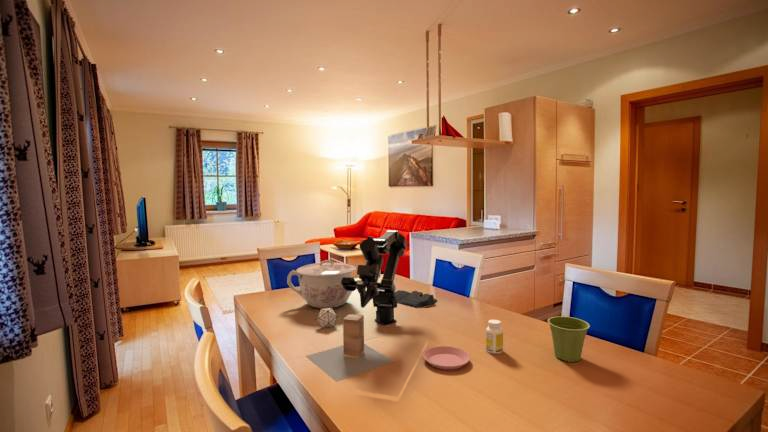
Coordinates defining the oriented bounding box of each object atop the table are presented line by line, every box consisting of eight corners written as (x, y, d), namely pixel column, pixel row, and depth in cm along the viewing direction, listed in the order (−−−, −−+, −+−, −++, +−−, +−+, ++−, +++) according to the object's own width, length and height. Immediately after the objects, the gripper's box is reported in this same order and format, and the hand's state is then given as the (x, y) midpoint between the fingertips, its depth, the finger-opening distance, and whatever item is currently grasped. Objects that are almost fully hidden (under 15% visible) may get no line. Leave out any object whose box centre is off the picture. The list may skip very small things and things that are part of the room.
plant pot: (538, 353, 124) (539, 319, 123) (565, 347, 129) (566, 314, 128) (569, 369, 113) (570, 331, 113) (597, 361, 118) (598, 325, 117)
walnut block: (349, 349, 126) (349, 313, 125) (364, 351, 125) (363, 315, 124) (343, 356, 122) (343, 319, 121) (358, 358, 120) (358, 320, 119)
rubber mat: (359, 343, 134) (359, 340, 134) (394, 364, 118) (394, 361, 118) (305, 358, 122) (305, 356, 122) (336, 384, 106) (336, 381, 106)
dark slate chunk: (404, 294, 196) (404, 284, 196) (440, 302, 181) (440, 292, 181) (383, 300, 185) (383, 290, 185) (420, 310, 170) (419, 299, 170)
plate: (440, 377, 110) (440, 370, 110) (414, 357, 122) (414, 351, 122) (479, 366, 116) (479, 359, 116) (450, 348, 129) (450, 342, 129)
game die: (330, 338, 148) (332, 323, 141) (310, 329, 149) (312, 314, 143) (340, 320, 154) (343, 305, 148) (321, 312, 156) (323, 296, 149)
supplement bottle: (503, 348, 128) (503, 319, 128) (502, 355, 123) (503, 325, 123) (486, 346, 130) (486, 318, 129) (485, 353, 125) (485, 323, 124)
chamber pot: (368, 301, 183) (368, 258, 181) (330, 318, 160) (329, 268, 158) (323, 293, 198) (322, 253, 196) (283, 307, 175) (281, 262, 173)
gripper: (342, 254, 137) (329, 292, 127) (393, 256, 131) (383, 297, 121) (351, 271, 145) (339, 309, 135) (399, 274, 139) (390, 314, 129)
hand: (362, 307), depth 130 cm, fingers closed
